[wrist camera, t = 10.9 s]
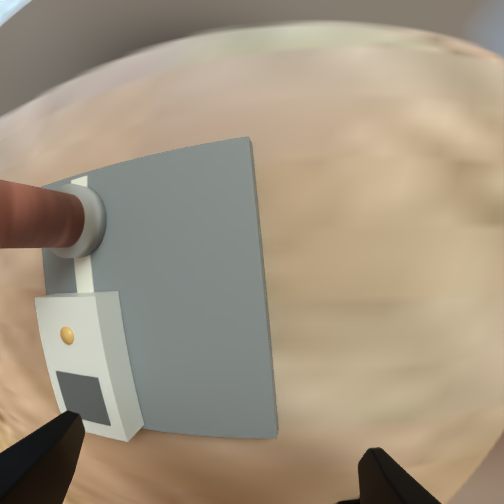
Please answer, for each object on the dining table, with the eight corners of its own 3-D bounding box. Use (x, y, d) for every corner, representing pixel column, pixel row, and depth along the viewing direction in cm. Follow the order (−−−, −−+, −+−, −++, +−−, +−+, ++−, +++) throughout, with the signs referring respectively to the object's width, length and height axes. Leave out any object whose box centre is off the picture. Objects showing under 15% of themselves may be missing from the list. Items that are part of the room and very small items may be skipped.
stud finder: (144, 424, 19) (126, 442, 16) (83, 412, 20) (64, 426, 17) (118, 290, 19) (93, 296, 16) (57, 293, 20) (32, 297, 17)
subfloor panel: (278, 428, 19) (276, 439, 18) (81, 408, 22) (72, 414, 20) (251, 142, 19) (247, 135, 18) (50, 188, 22) (39, 186, 20)
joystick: (95, 267, 19) (-86, 286, 6) (50, 244, 20) (-105, 244, 7) (115, 196, 19) (-69, 154, 6) (67, 180, 20) (-89, 142, 6)
